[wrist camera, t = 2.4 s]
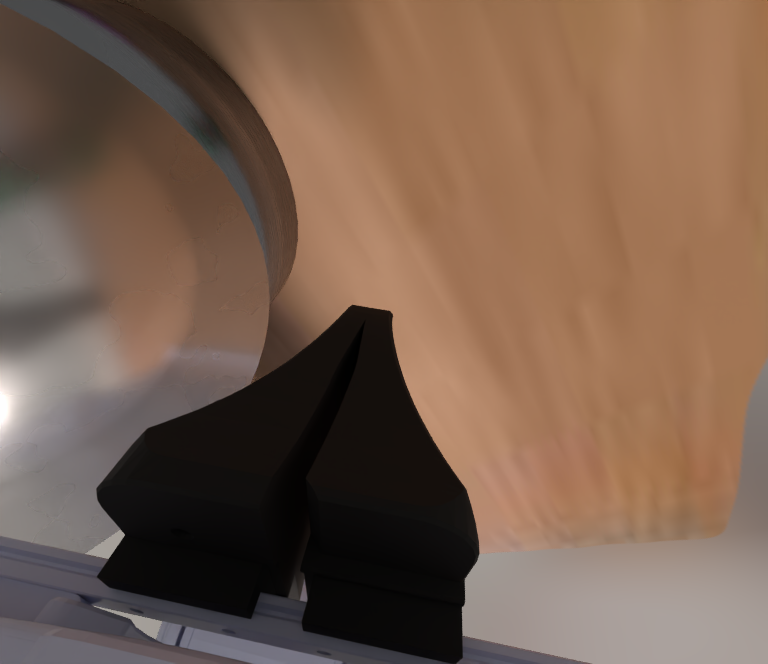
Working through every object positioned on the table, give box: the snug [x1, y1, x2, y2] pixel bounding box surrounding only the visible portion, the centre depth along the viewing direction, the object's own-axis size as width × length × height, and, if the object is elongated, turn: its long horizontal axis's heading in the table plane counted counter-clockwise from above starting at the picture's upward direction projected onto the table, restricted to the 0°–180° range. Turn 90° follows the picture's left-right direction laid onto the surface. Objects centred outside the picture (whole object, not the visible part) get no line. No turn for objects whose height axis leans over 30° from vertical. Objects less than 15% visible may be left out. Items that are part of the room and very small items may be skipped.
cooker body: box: [0, 0, 298, 305], centre depth 16 cm, size 19×16×5 cm
